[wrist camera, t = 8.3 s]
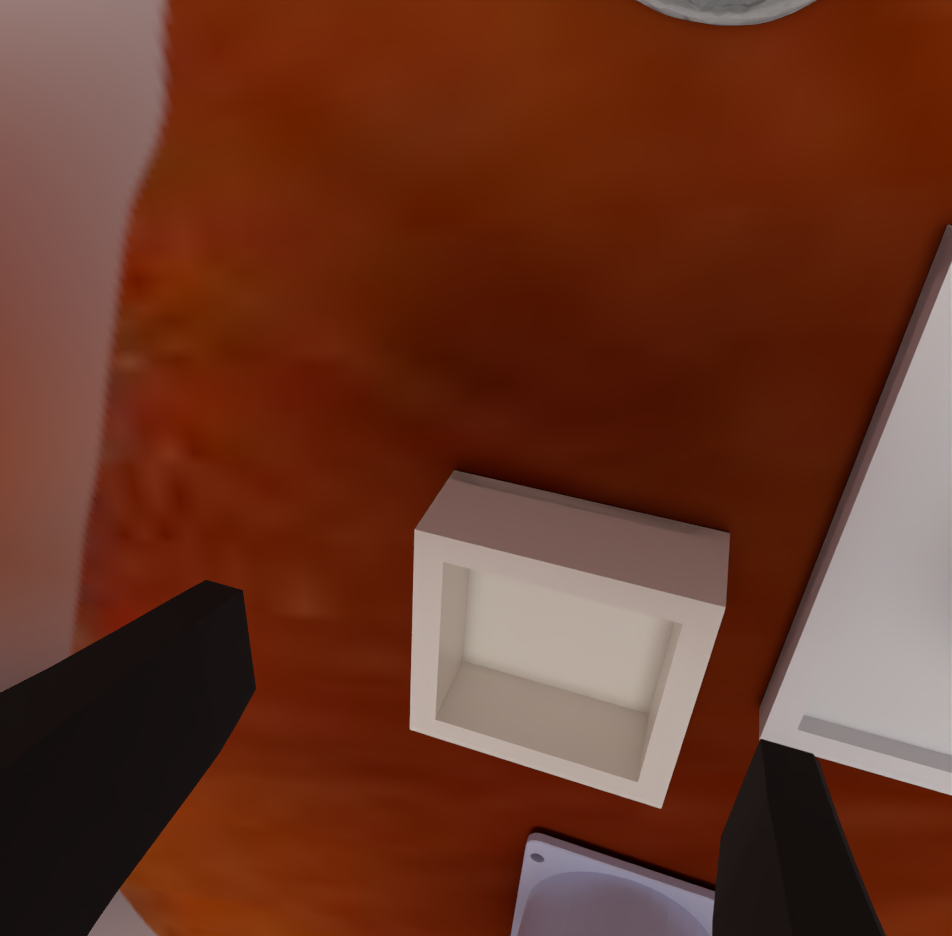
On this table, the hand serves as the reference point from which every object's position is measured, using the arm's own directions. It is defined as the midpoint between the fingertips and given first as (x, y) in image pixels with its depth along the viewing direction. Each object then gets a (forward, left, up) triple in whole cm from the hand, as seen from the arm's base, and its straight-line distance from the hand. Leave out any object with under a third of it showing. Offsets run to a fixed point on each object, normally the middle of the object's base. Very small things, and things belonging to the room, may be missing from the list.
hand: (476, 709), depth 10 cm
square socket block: (-7, 0, -10) cm, 13 cm away
